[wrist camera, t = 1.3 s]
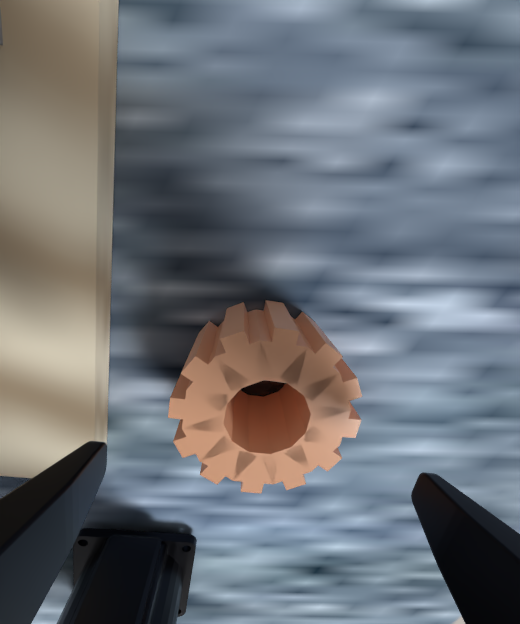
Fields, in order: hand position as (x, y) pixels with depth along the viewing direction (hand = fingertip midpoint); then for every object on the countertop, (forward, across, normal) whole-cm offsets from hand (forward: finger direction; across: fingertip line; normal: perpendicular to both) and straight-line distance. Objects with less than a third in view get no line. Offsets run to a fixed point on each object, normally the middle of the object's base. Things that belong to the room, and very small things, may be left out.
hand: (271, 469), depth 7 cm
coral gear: (+6, 0, 0) cm, 6 cm away
